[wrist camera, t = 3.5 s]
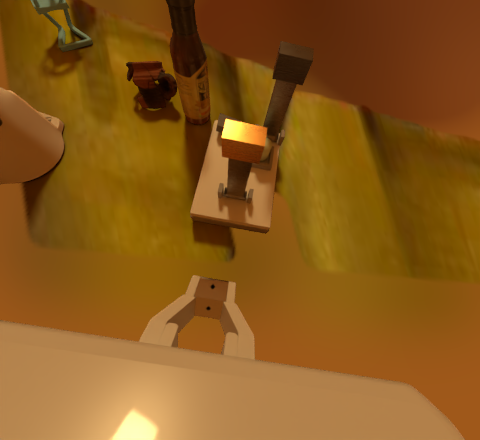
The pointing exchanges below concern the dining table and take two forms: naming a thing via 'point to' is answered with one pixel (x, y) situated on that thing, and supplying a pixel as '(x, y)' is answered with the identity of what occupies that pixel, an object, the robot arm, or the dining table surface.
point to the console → (233, 210)
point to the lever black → (286, 83)
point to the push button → (266, 150)
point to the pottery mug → (152, 83)
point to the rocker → (223, 122)
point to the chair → (44, 3)
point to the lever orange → (241, 154)
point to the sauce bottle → (189, 62)
